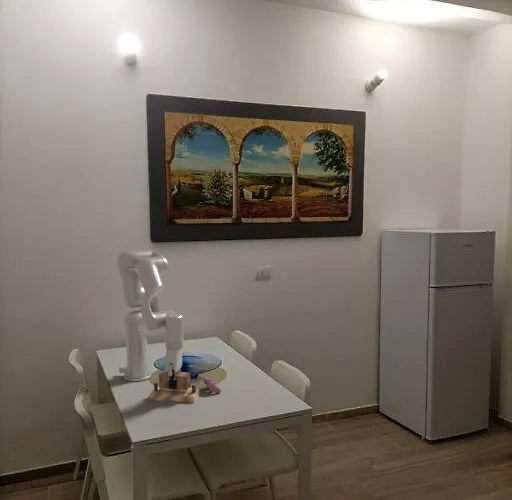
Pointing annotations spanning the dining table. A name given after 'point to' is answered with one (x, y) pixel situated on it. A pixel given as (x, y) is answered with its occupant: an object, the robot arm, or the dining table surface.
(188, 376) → the walnut bar
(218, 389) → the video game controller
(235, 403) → the dining table surface
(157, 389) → the peg stand
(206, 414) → the dining table surface
